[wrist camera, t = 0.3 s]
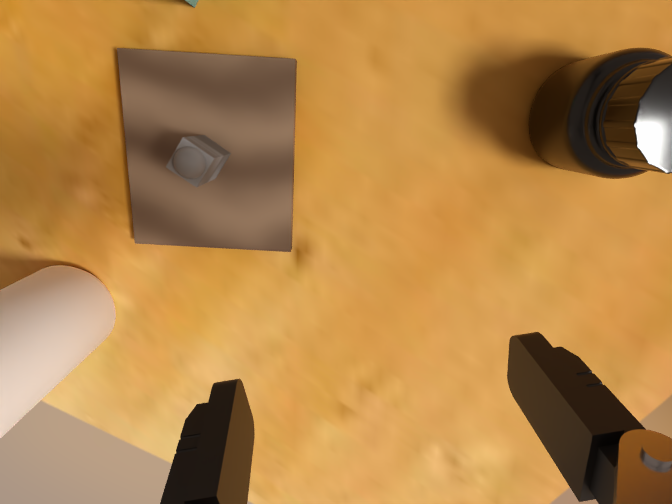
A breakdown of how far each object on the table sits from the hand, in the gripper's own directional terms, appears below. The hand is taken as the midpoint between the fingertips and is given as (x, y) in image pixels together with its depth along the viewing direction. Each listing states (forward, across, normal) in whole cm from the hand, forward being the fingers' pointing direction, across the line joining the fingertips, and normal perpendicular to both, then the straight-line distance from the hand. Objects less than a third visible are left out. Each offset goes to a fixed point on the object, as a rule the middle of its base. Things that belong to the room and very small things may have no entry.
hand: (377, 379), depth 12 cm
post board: (+28, +9, -2) cm, 29 cm away
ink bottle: (+26, -22, -1) cm, 34 cm away
